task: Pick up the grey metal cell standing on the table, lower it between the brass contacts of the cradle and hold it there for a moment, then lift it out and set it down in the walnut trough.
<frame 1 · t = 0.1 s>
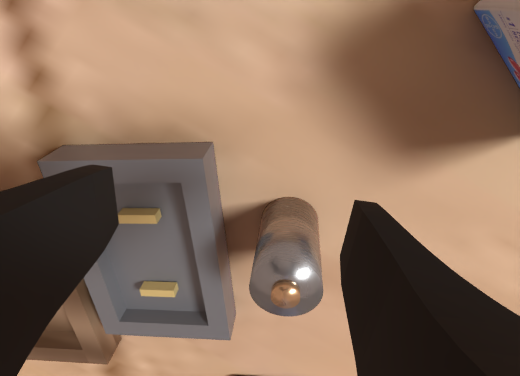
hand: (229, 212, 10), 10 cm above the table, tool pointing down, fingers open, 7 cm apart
cradle: (159, 238, 24), on the table
cell: (289, 221, 22), on the table
trough: (38, 273, 27), on the table
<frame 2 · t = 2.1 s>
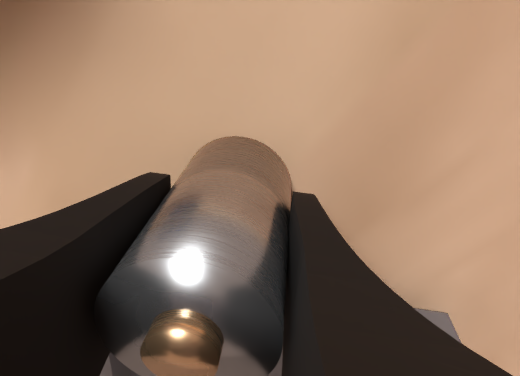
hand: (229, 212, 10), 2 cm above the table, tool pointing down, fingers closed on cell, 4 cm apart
cradle: (257, 361, 16), on the table
cell: (238, 186, 12), on the table, touching gripper
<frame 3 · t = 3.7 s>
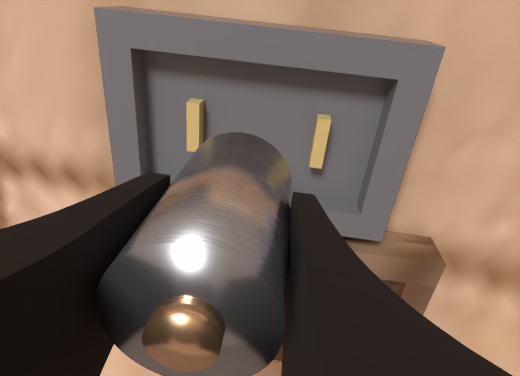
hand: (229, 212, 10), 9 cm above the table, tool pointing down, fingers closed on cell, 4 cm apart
cradle: (260, 122, 18), on the table
cell: (238, 182, 12), point 7 cm above the table, touching gripper
trough: (297, 281, 23), on the table
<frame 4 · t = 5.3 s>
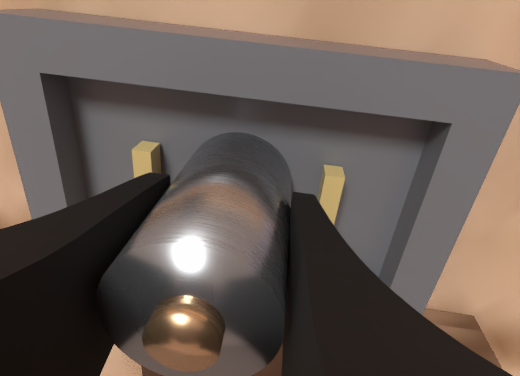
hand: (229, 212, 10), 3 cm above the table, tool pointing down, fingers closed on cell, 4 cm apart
cradle: (244, 169, 13), on the table
cell: (238, 182, 12), point 1 cm above the table, touching gripper
trough: (296, 361, 18), on the table
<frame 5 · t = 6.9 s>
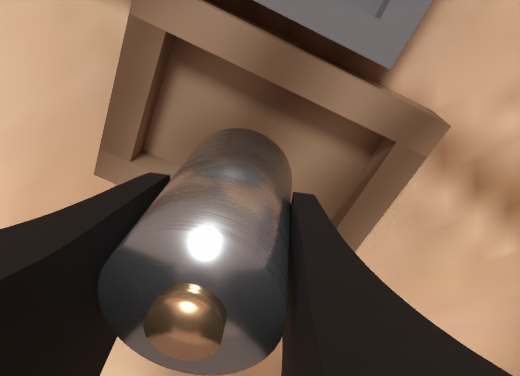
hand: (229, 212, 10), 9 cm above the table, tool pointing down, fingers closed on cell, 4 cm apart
cell: (239, 178, 12), point 7 cm above the table, touching gripper
trough: (260, 135, 19), on the table
when the fingers open (3 cm above the table, at t = 8.4 s): cell stays where it is, resting on trough.
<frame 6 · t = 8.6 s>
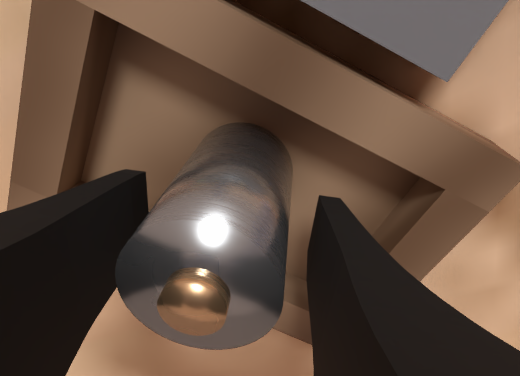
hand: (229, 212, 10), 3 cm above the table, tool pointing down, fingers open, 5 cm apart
cell: (243, 170, 13), point 1 cm above the table, touching trough
trough: (245, 165, 13), on the table
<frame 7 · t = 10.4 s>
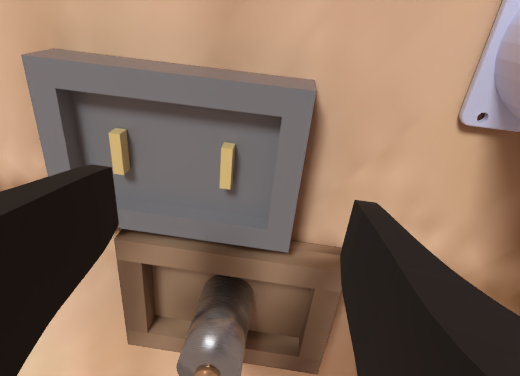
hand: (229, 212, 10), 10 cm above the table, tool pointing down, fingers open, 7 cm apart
cradle: (182, 147, 20), on the table
cell: (228, 293, 25), point 1 cm above the table, touching trough
trough: (231, 286, 25), on the table
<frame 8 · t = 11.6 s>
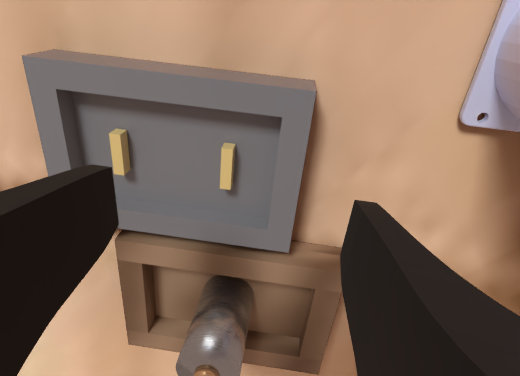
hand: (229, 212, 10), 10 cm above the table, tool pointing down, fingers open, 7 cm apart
cradle: (182, 147, 20), on the table
cell: (228, 293, 25), point 1 cm above the table, touching trough
trough: (231, 287, 25), on the table
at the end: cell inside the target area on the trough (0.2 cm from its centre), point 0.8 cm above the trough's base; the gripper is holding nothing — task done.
